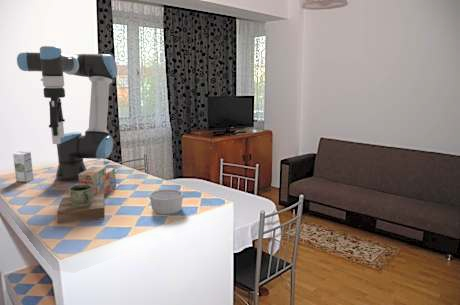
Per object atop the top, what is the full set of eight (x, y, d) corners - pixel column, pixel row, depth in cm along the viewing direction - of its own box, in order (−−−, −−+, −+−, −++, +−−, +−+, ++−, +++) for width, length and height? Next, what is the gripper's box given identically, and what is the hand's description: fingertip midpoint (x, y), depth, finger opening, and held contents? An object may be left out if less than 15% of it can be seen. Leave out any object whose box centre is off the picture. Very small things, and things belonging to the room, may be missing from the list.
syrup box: (34, 179, 185) (31, 151, 182) (26, 182, 179) (23, 153, 176) (24, 178, 186) (20, 150, 183) (15, 181, 180) (12, 153, 177)
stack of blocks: (104, 185, 176) (102, 161, 173) (116, 186, 175) (114, 162, 173) (80, 201, 156) (77, 173, 153) (93, 202, 155) (91, 174, 152)
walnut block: (63, 209, 148) (62, 197, 147) (104, 205, 153) (103, 193, 152) (58, 225, 133) (57, 212, 132) (104, 219, 138) (103, 207, 137)
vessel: (63, 201, 142) (62, 186, 141) (84, 196, 149) (83, 181, 147) (79, 209, 135) (77, 193, 133) (100, 203, 141) (99, 187, 140)
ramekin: (168, 201, 156) (168, 186, 155) (190, 209, 148) (190, 193, 146) (143, 210, 146) (142, 194, 145) (164, 219, 138) (164, 202, 136)
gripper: (48, 85, 153) (52, 135, 158) (37, 89, 130) (43, 147, 135) (67, 85, 155) (71, 134, 160) (60, 89, 132) (65, 146, 137)
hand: (58, 140), depth 147 cm, fingers open, 13 cm apart
